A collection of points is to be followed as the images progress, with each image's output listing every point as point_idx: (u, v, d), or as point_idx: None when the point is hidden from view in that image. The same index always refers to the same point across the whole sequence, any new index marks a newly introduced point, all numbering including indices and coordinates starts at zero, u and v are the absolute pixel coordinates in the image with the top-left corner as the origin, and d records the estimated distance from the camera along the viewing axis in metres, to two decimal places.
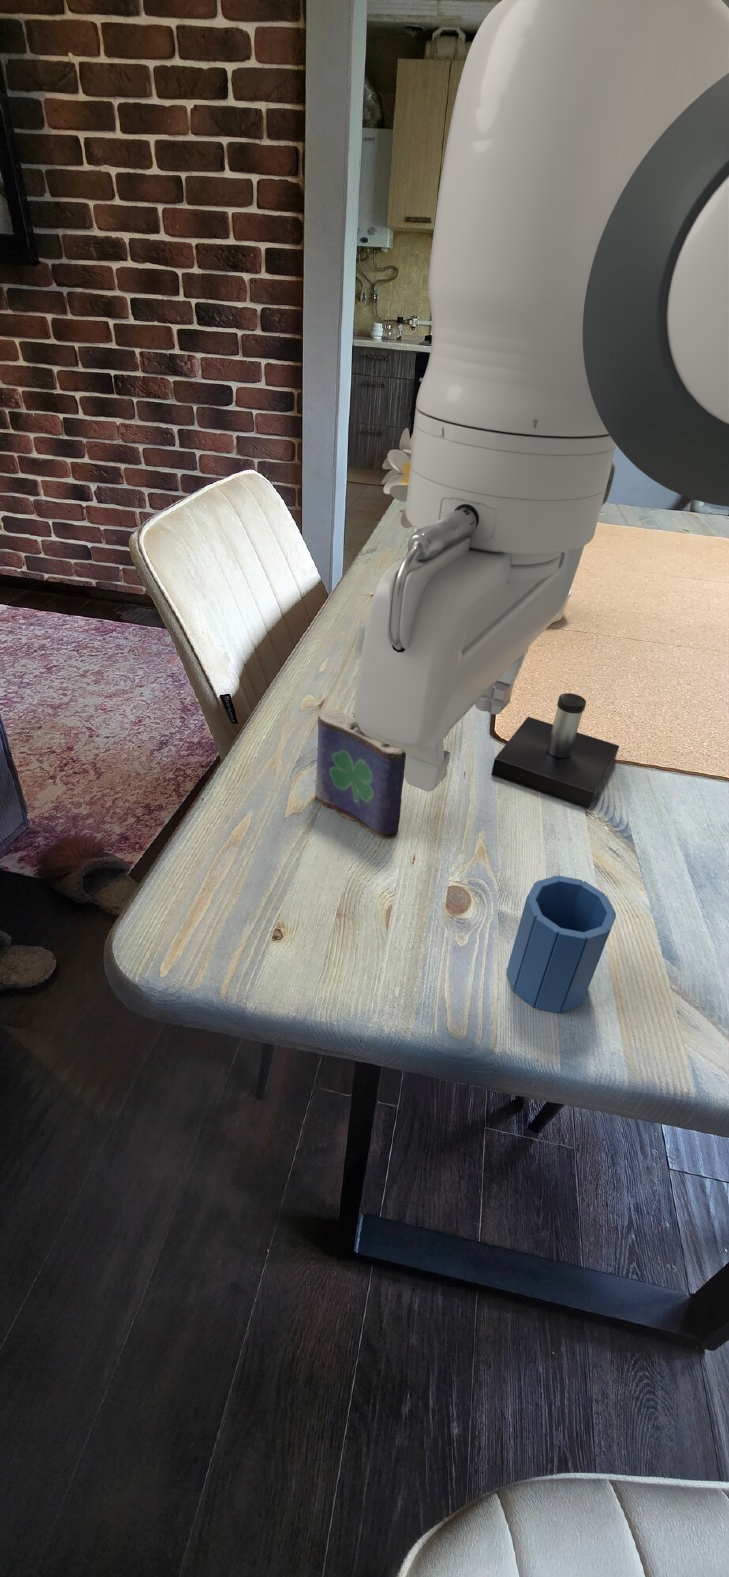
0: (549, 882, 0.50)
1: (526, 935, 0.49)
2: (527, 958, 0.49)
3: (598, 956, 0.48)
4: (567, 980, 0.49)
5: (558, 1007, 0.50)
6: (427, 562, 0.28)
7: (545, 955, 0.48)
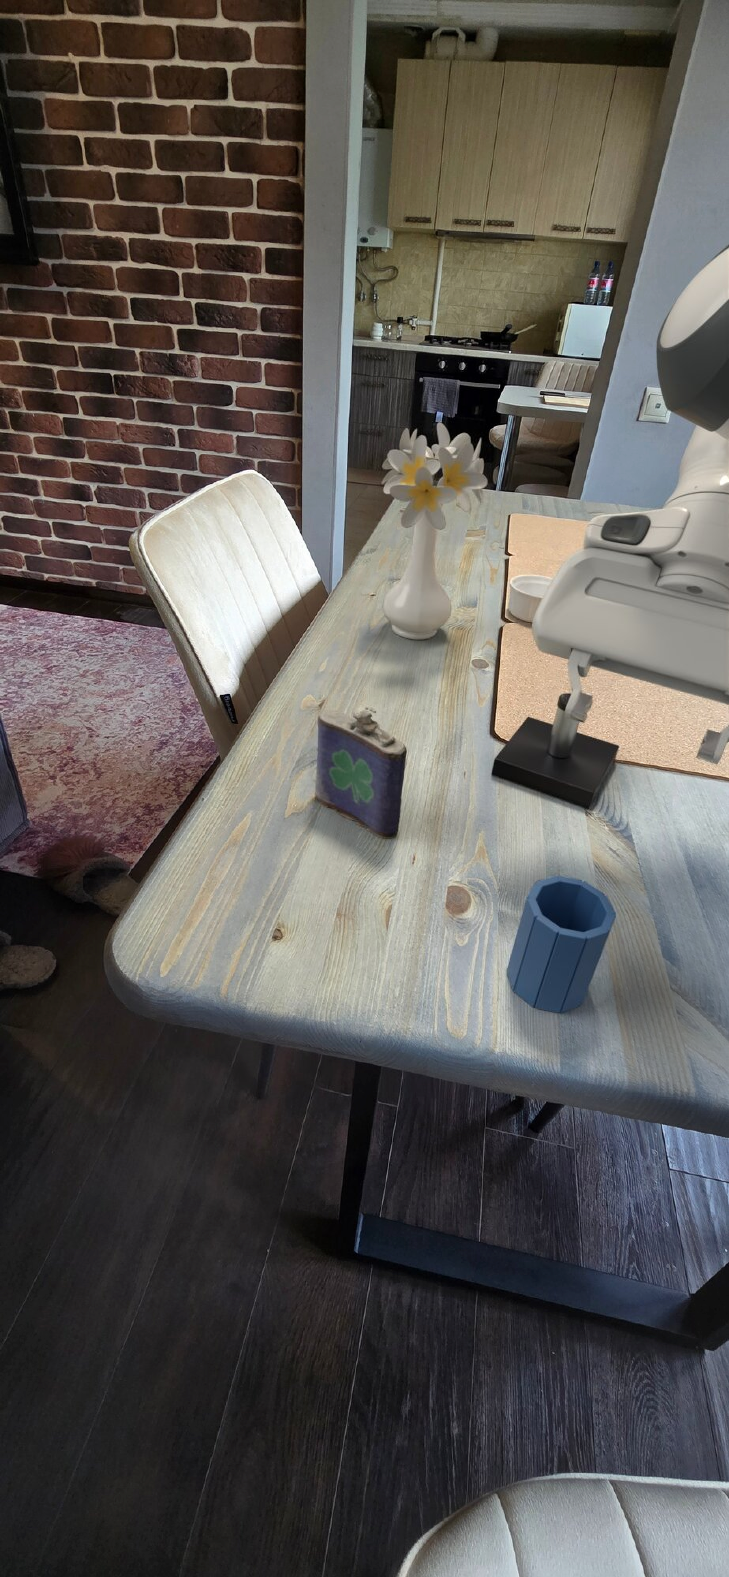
0: (549, 882, 0.50)
1: (526, 935, 0.49)
2: (527, 958, 0.49)
3: (598, 956, 0.48)
4: (567, 980, 0.49)
5: (558, 1007, 0.50)
6: None
7: (545, 955, 0.48)
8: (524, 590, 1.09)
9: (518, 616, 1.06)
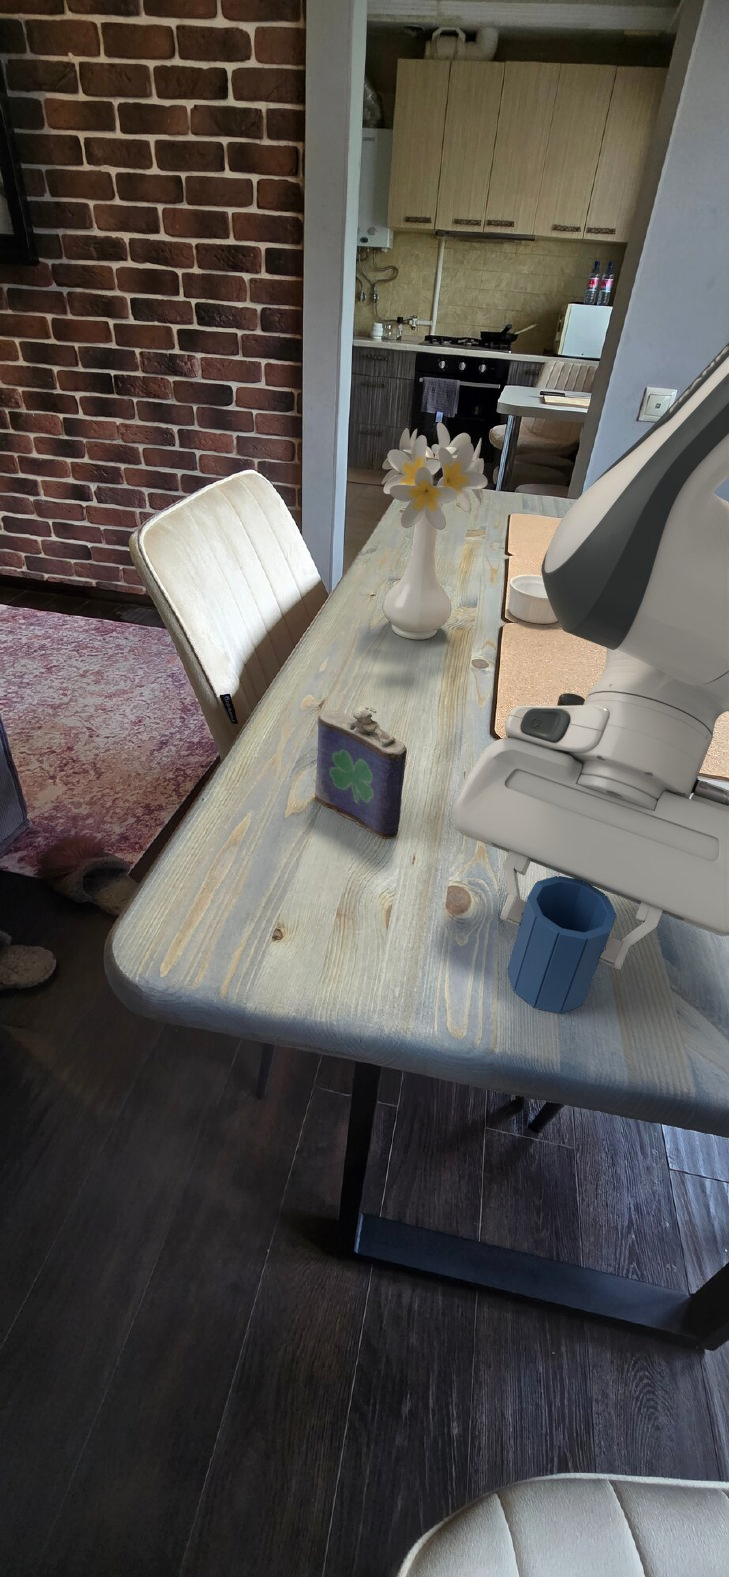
0: (550, 882, 0.50)
1: (527, 935, 0.49)
2: (528, 959, 0.49)
3: (599, 956, 0.48)
4: (568, 980, 0.49)
5: (558, 1007, 0.50)
6: None
7: (546, 955, 0.48)
8: (524, 590, 1.09)
9: (518, 616, 1.06)
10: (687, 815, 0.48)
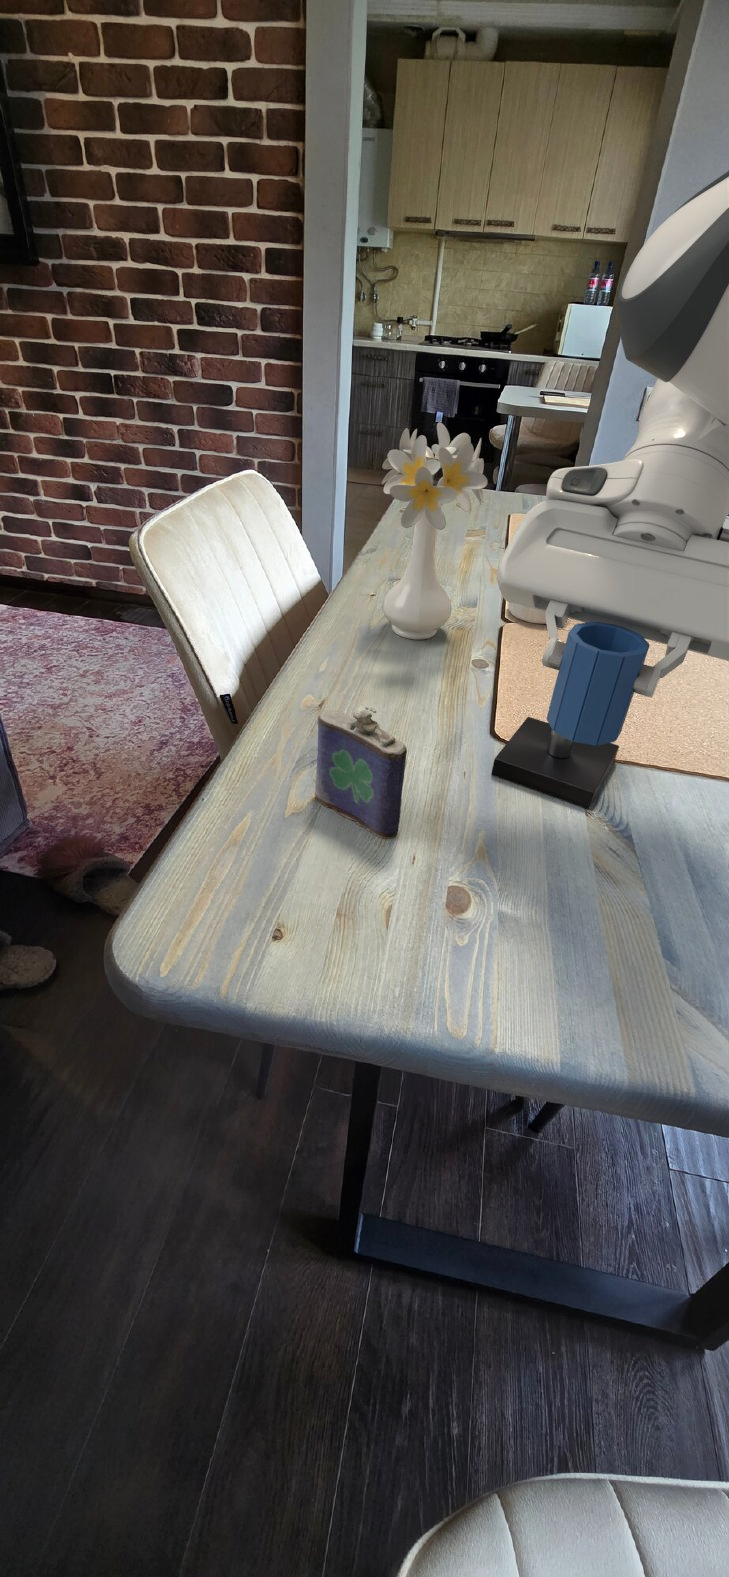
0: (588, 625, 0.55)
1: (568, 667, 0.54)
2: (568, 690, 0.55)
3: (633, 682, 0.53)
4: (605, 706, 0.54)
5: (595, 738, 0.56)
6: None
7: (585, 680, 0.53)
8: None
9: (518, 616, 1.06)
10: (714, 552, 0.53)
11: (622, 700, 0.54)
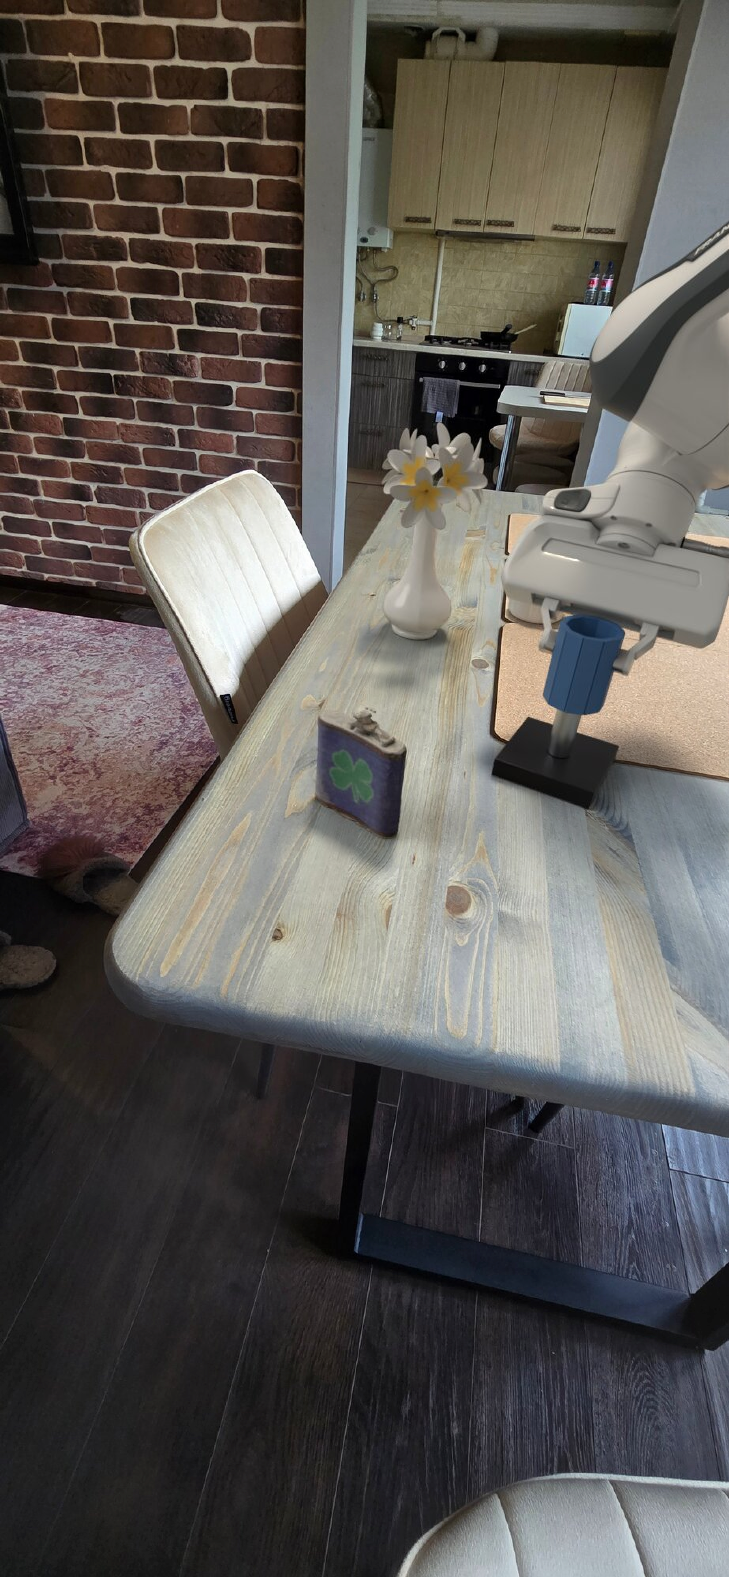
0: (575, 617, 0.68)
1: (559, 651, 0.67)
2: (560, 670, 0.67)
3: (612, 663, 0.66)
4: (589, 682, 0.66)
5: (582, 709, 0.68)
6: None
7: (573, 661, 0.66)
8: None
9: (518, 616, 1.06)
10: (677, 557, 0.65)
11: (603, 678, 0.67)
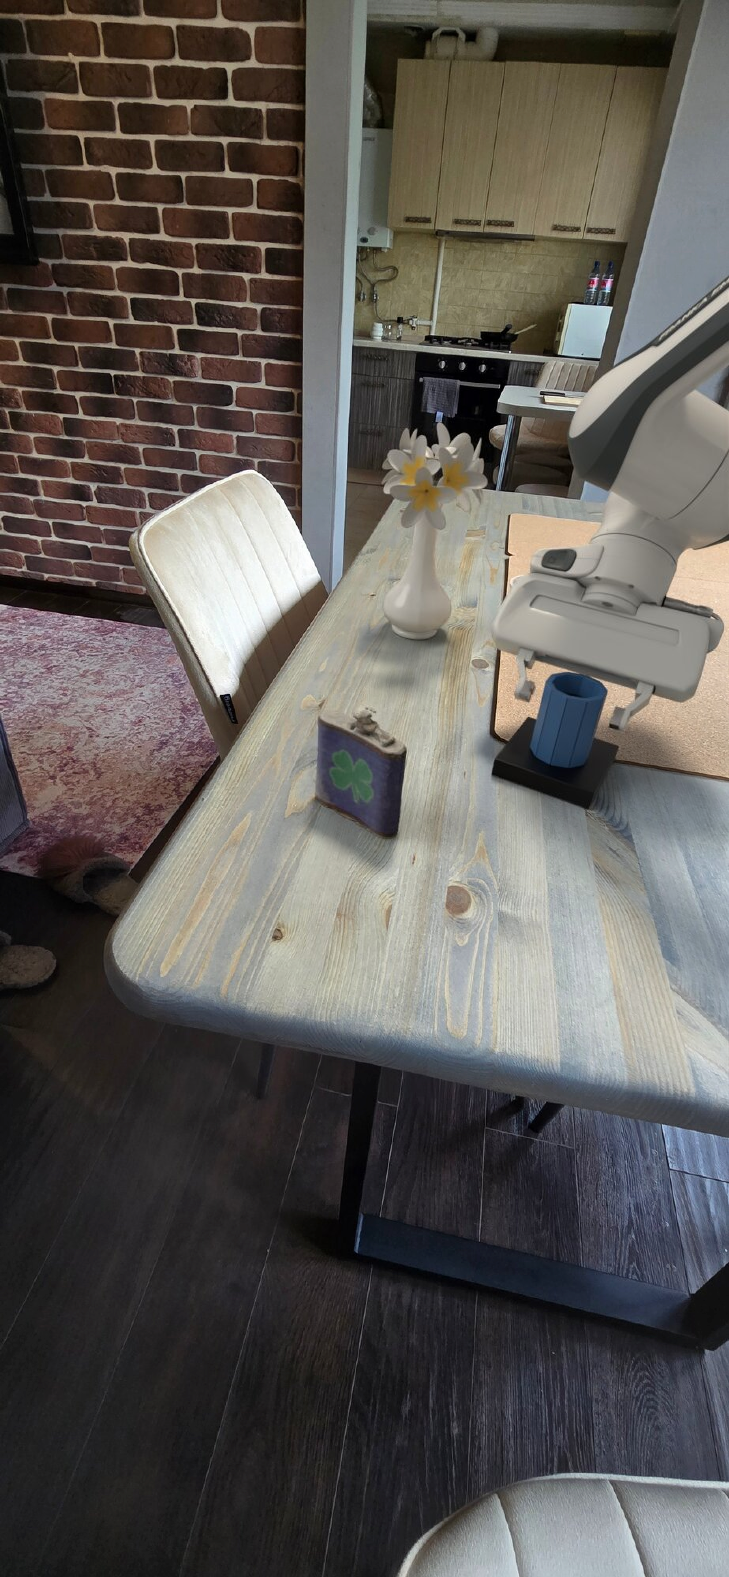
0: (561, 675, 0.72)
1: (545, 708, 0.70)
2: (546, 725, 0.71)
3: (595, 720, 0.69)
4: (574, 738, 0.70)
5: (567, 762, 0.72)
6: None
7: (558, 718, 0.69)
8: None
9: None
10: (658, 616, 0.69)
11: (587, 733, 0.70)
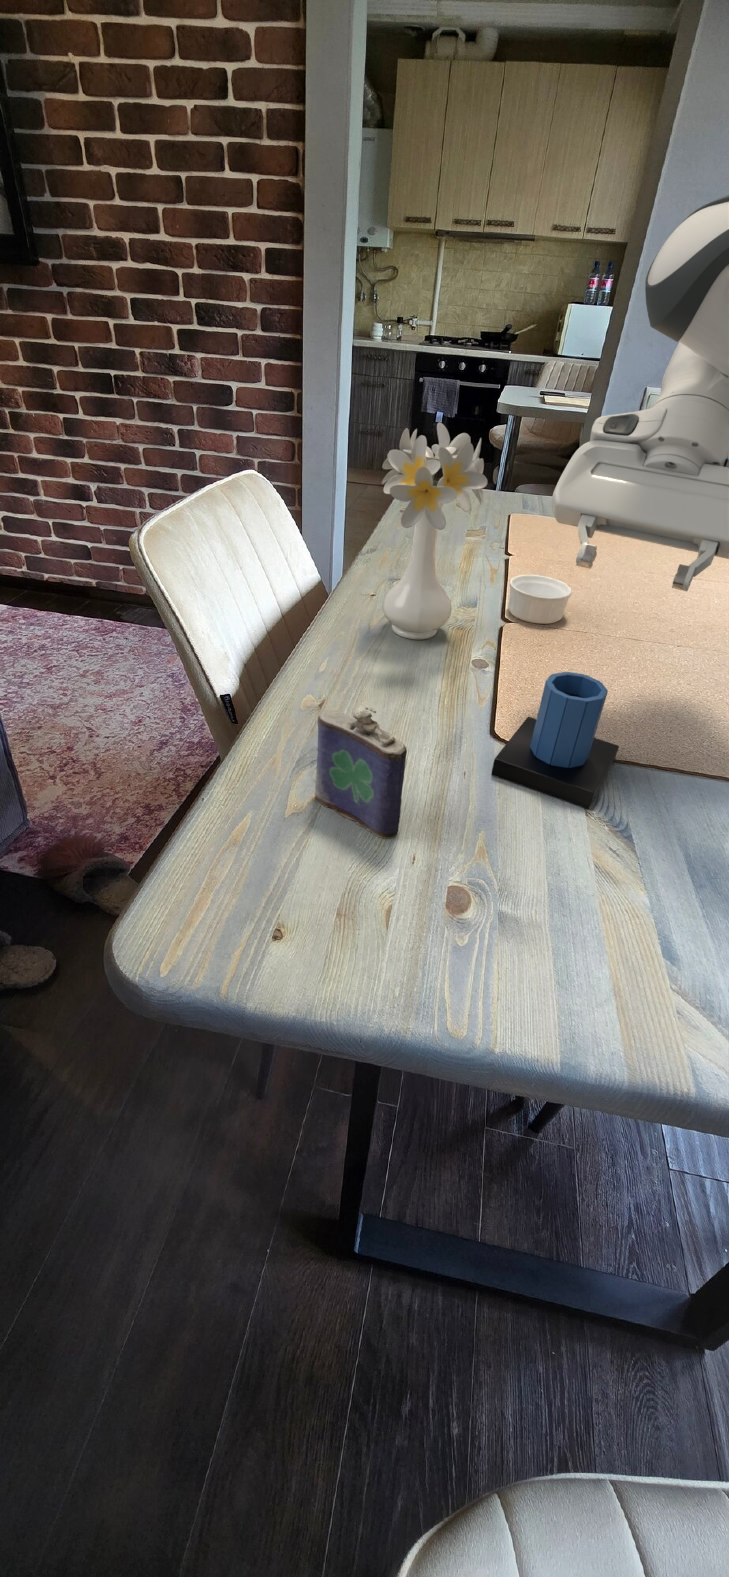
0: (561, 675, 0.72)
1: (545, 708, 0.70)
2: (546, 725, 0.71)
3: (595, 720, 0.69)
4: (574, 738, 0.70)
5: (567, 762, 0.72)
6: None
7: (558, 718, 0.69)
8: (524, 590, 1.09)
9: (518, 616, 1.06)
10: (721, 475, 0.70)
11: (587, 733, 0.70)
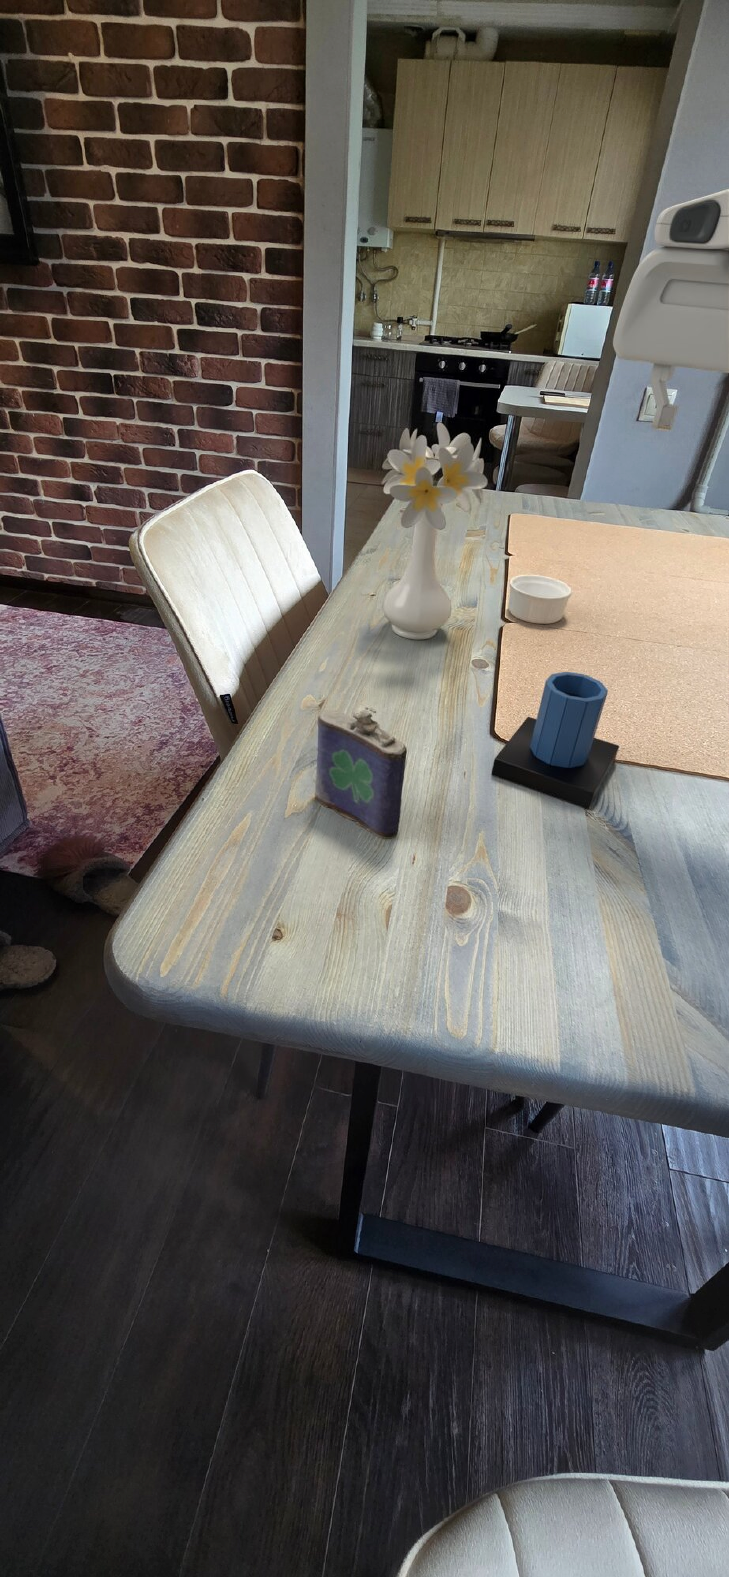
0: (561, 675, 0.72)
1: (545, 708, 0.70)
2: (546, 725, 0.71)
3: (595, 720, 0.69)
4: (574, 738, 0.70)
5: (567, 762, 0.72)
6: None
7: (558, 718, 0.69)
8: (524, 590, 1.09)
9: (518, 616, 1.06)
10: None
11: (587, 733, 0.70)
